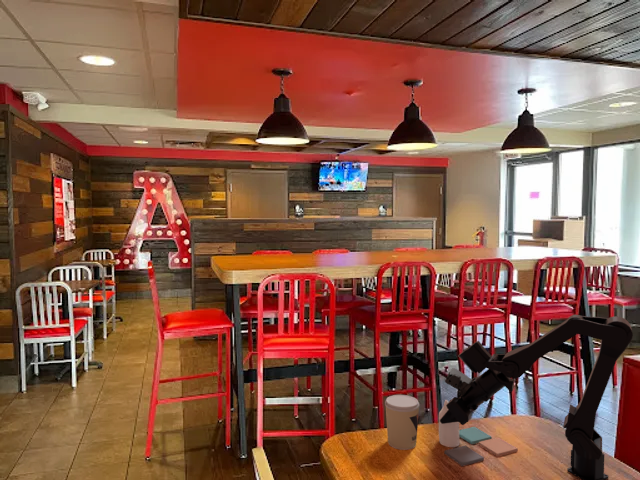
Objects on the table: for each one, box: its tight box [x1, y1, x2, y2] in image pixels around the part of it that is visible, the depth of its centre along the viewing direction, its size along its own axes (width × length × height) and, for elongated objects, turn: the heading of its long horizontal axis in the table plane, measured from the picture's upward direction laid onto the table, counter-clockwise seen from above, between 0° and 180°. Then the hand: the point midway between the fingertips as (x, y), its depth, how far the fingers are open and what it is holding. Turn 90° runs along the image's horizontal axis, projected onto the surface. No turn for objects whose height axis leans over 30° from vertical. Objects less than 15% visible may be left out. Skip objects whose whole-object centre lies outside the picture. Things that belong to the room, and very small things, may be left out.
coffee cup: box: [384, 394, 420, 451], centre depth 133 cm, size 9×9×12 cm
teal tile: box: [459, 426, 493, 445], centre depth 136 cm, size 7×7×1 cm
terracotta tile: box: [478, 436, 519, 458], centre depth 130 cm, size 7×7×1 cm
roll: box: [438, 399, 461, 448], centre depth 133 cm, size 6×12×6 cm
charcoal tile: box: [443, 445, 485, 467], centre depth 125 cm, size 7×7×1 cm
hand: (443, 418), depth 133 cm, fingers closed on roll, 6 cm apart
